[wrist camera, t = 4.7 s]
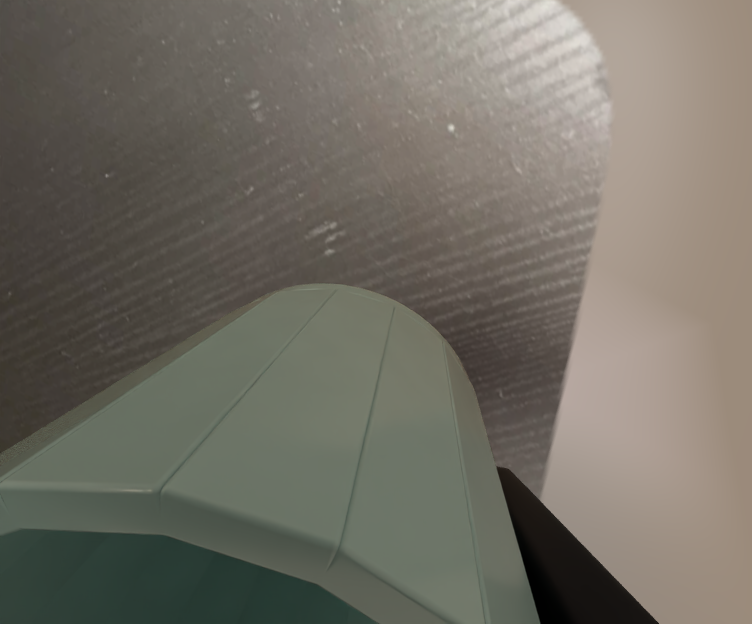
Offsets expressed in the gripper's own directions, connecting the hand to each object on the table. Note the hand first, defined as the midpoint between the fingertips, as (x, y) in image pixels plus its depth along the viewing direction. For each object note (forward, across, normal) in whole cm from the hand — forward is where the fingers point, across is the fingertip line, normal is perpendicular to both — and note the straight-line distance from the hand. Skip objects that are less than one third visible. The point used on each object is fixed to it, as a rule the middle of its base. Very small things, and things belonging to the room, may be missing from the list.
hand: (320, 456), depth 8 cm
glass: (+1, 0, 0) cm, 1 cm away
